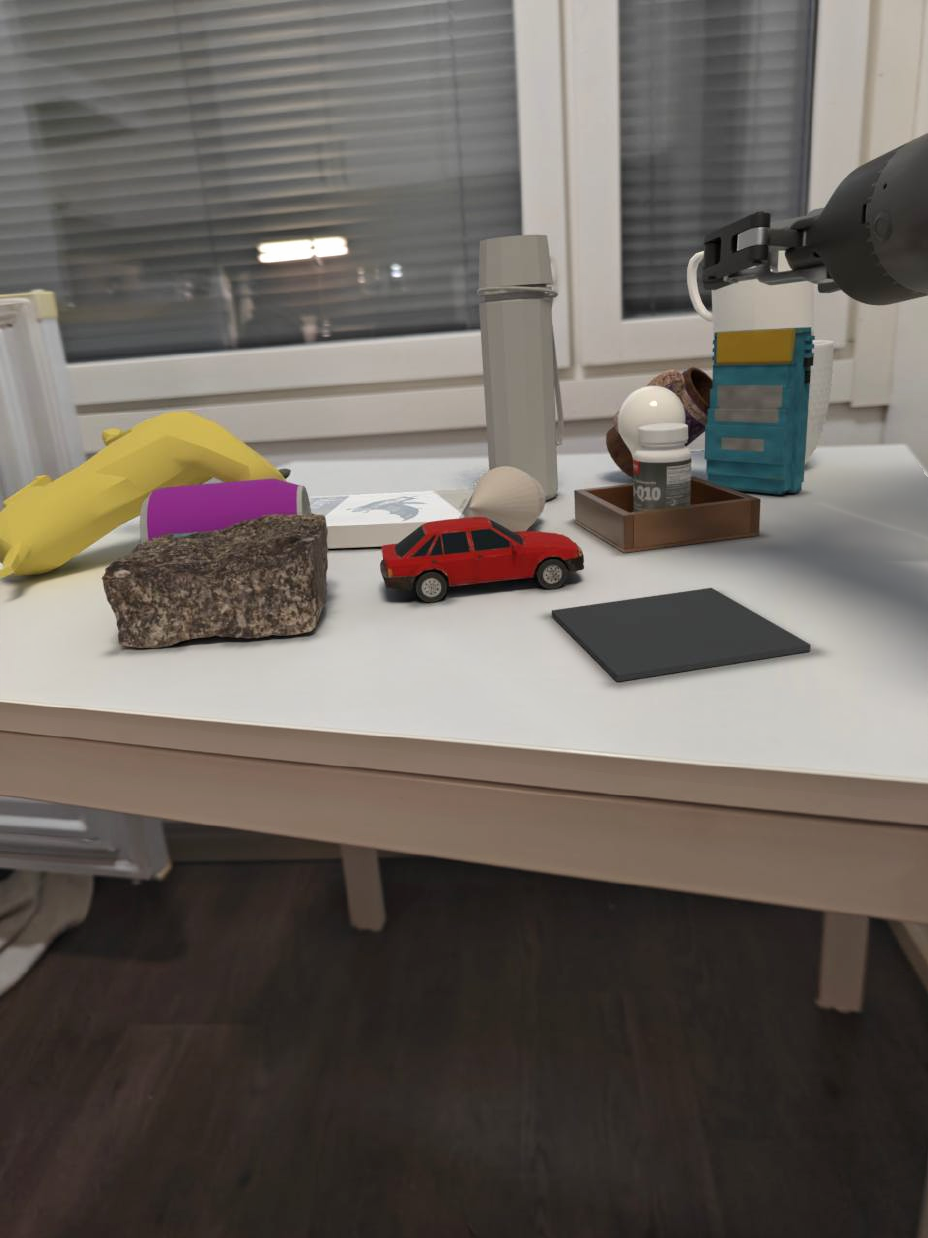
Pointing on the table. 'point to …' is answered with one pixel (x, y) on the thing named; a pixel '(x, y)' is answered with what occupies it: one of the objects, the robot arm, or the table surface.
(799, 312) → the mug
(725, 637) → the mat
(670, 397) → the lightbulb
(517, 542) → the toy car
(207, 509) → the beverage can
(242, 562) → the stone
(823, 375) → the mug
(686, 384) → the mug
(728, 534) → the wooden tray
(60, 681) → the table surface
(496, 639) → the table surface
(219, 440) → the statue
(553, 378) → the water bottle
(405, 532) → the book
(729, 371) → the teal upright box
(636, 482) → the pill bottle
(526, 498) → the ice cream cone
